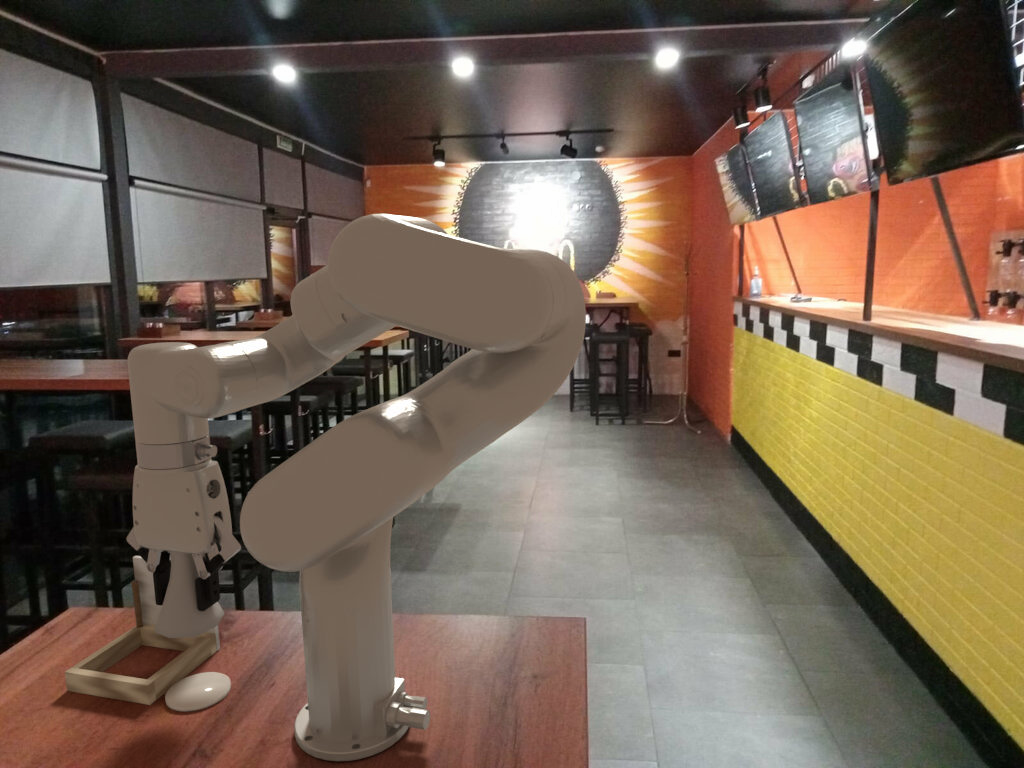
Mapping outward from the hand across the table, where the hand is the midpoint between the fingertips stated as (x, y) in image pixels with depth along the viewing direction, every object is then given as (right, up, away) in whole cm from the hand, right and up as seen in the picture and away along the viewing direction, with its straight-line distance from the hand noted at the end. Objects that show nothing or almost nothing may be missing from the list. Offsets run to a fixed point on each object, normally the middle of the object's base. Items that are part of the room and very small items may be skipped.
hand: (188, 601), depth 84 cm
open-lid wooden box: (-9, -11, +7) cm, 16 cm away
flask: (0, -3, +1) cm, 3 cm away
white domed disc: (0, -12, +2) cm, 12 cm away
